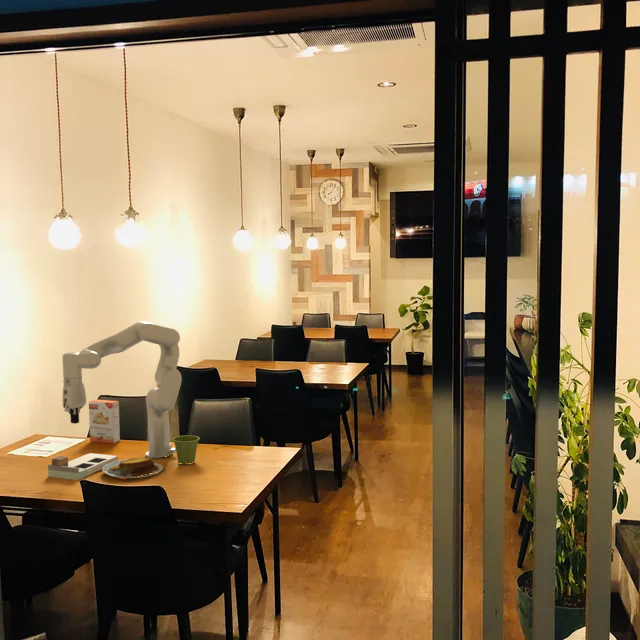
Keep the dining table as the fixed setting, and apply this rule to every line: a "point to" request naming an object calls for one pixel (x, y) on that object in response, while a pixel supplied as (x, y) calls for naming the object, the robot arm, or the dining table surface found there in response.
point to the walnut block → (60, 461)
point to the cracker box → (104, 421)
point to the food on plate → (132, 468)
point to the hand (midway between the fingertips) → (75, 422)
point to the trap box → (81, 466)
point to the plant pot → (186, 448)
